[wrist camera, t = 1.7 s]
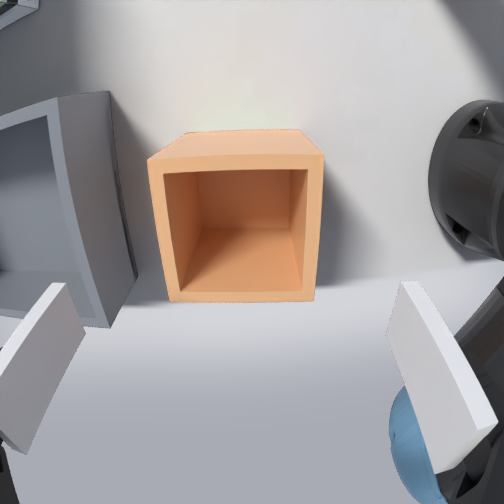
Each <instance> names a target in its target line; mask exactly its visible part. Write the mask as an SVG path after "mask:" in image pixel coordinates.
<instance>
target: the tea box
mask: <svg viewBox="0 0 504 504" xmlns="http://www.w3.org/2000/svg"><path fill="white" fill-rule="evenodd" d="M38 5H39V0H0V30H1V29H2V28H4V27H6V26H8V25H9V24H11V23H13V22H15V21H16V20H18V19H20V18H22V17H24V16H26V15H28V14H30V13H32V12H34V11H35V10H37V9H38Z"/></svg>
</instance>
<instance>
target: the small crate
mask: <svg viewBox="0 0 504 504" xmlns="http://www.w3.org/2000/svg"><path fill="white" fill-rule="evenodd" d="M147 166H148V175H149V182H150V190H151V197H152V204H153V211H154V218H155V224H156V230H157V236H158V242H159V248H160V254H161V259H162V265H163V270H164V275H165V280H166V285H167V290H168V295H169V300H170V302H203V303H251V302H304V301H314V293H315V283H316V273H317V262H318V250H319V238H320V224H321V209H322V192H323V172H324V154H323V153H322V152H321V151H320V150H319V149H318V148H317V147H316V145H315V144H314V143H313V142H312V141H311V140H310V139H309V138H308V137H307V136H306V135H305V134H304V133H302V132H301V131H300V130H289V129H266V130H228V131H208V132H193V133H186V134H184V135H183V136H181V137H180V138H178V139H177V140H175V141H174V142H172V143H171V144H169V145H168V146H166V147H165V148H163V149H162V150H160V151H159V152H157V153H156V154H155V155H153V156H152V157H150V158H149V159H148V160H147Z"/></svg>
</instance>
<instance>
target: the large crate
mask: <svg viewBox="0 0 504 504" xmlns="http://www.w3.org/2000/svg"><path fill="white" fill-rule="evenodd" d="M137 277H138V273H137V268H136V264H135V260H134V255H133V251H132V246H131V241H130V236H129V231H128V226H127V221H126V216H125V210H124V204H123V199H122V193H121V187H120V180H119V174H118V167H117V160H116V152H115V144H114V135H113V126H112V116H111V105H110V93H109V91H100V92H91V93H82V94H74V95H67V96H60V97H55V98H52V99H49V100H45V101H42V102H39V103H36V104H33V105H30V106H27V107H24V108H21V109H18V110H15V111H13V112H10V113H7V114H5V115H2V116H0V316H6V317H13V318H20V319H24V318H25V316H26V315H27V314H28V312H29V311H30V310H31V308H32V307H33V306H34V305H35V303H36V302H37V301H38V300H39V298H40V297H41V296H42V295H43V293H44V292H45V291H46V290H47V288H48V287H49V286H50V285H51V284H52V283H66V284H67V287H68V290H69V293H70V295H71V298H72V301H73V303H74V306H75V308H76V311H77V313H78V316H79V318H80V321H81V323H82V326H88V327H98V328H111V326H112V324H113V322H114V320H115V318H116V316H117V314H118V312H119V311H120V309H121V307H122V305H123V303H124V301H125V299H126V297H127V295H128V294H129V292H130V290H131V288H132V286H133V284H134V282H135V281H136V279H137Z"/></svg>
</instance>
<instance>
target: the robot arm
mask: <svg viewBox="0 0 504 504" xmlns="http://www.w3.org/2000/svg"><path fill="white" fill-rule="evenodd" d="M428 184H429V195H430V200H431V204H432V208H433V211H434V213H435V216H436V218H437V219H438V221H439V223H440V224H441V226H442V227H443V228H444V229H445V230H446V231H447V232H448V233H449V234H450V235H451V236H452V237H453V238H454V239H455V240H456V241H457V242H458V243H460V244H461V245H463V246H464V247H466V248H468V249H470V250H473V251H476V252H479V253H482V254H485V255H488V256H491V257H493V258H496V259H499V260H502V261H504V103H501V102H497V101H492V100H478V101H474V102H471V103H468V104H466V105H465V106H463V107H461V108H460V109H459V110H457V111H456V112H455V113H454V114H453V115H452V116H451V117H450V118H449V120H448V121H447V122H446V124H445V125H444V127H443V128H442V130H441V132H440V134H439V136H438V138H437V140H436V143H435V145H434V148H433V152H432V155H431V160H430V166H429V177H428ZM85 334H86V333H85V330H84V328H83V326H82V323H81V321H80V318H79V316H78V313H77V311H76V308H75V306H74V303H73V301H72V298H71V295H70V293H69V290H68V287H67V284H66V283H52V284H51V285H50V286H49V287H48V288H47V290H46V291H45V292H44V293H43V295H42V296H41V297H40V298H39V300H38V301H37V302H36V303H35V305H34V306H33V307H32V308H31V310H30V311H29V312H28V314H27V315H26V316H25V318H24V319H23V320H22V322H21V323H20V324H19V326H18V327H17V328H16V330H15V331H14V332H13V334H12V335H11V337H10V338H9V339H8V341H7V342H6V344H5V345H4V347H1V348H0V504H19V500H18V497H17V494H16V492H15V488H14V484H13V481H12V477H11V474H10V469H9V465H8V462H7V457H6V453H5V450H4V448H3V447H2V446H1V444H2V442H3V441H4V442H6V443H7V445H8V446H10V447H11V448H12V449H14V450H16V451H18V452H20V453H23V454H25V455H27V453H28V451H29V448H30V446H31V444H32V441H33V439H34V437H35V434H36V432H37V429H38V427H39V425H40V423H41V421H42V418H43V416H44V414H45V412H46V410H47V408H48V406H49V403H50V401H51V399H52V397H53V395H54V393H55V391H56V389H57V387H58V385H59V383H60V381H61V379H62V377H63V375H64V373H65V371H66V369H67V367H68V366H69V363H70V361H71V360H72V358H73V356H74V354H75V352H76V351H77V348H78V347H79V345H80V343H81V341H82V339H83V338H84V336H85ZM385 336H386V338H387V341H388V343H389V345H390V348H391V350H392V353H393V355H394V358H395V360H396V363H397V365H398V368H399V371H400V373H401V376H402V378H403V381H404V384H405V386H404V387H403V388H402V389H401V391H400V392H399V393H398V395H397V396H396V398H395V400H394V402H393V405H392V408H391V412H390V419H389V436H390V440H391V453H392V457H393V461H394V464H395V467H396V469H397V472H398V474H399V476H400V479H401V480H402V482H403V484H404V486H405V487H406V489H407V490H408V492H409V493H410V494H411V495H412V496H413V497H414V498H415V499H416V500H417V501H418V502H419V503H421V504H504V277H503V278H502V280H501V281H500V282H499V284H498V285H497V286H496V287H495V288H494V290H493V291H492V292H491V293H490V295H489V296H488V297H487V299H486V300H485V301H484V302H483V303H482V305H481V306H480V307H479V308H478V310H477V311H476V312H475V313H474V314H473V315H472V317H471V318H470V319H469V320H468V321H467V323H466V324H465V325H464V326H463V327H462V328H461V329H460V330H459V331H458V332H457V334H456V335H455V336H454V337H453V335H452V333H451V332H450V330H449V328H448V327H447V325H446V323H445V322H444V320H443V319H442V317H441V315H440V314H439V312H438V311H437V309H436V308H435V306H434V305H433V303H432V301H431V300H430V298H429V297H428V295H427V294H426V292H425V291H424V289H423V288H422V286H421V285H420V283H419V282H418V280H417V281H416V280H415V281H401V282H400V285H399V289H398V293H397V297H396V300H395V304H394V308H393V311H392V315H391V318H390V322H389V325H388V328H387V331H386V335H385Z"/></svg>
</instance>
